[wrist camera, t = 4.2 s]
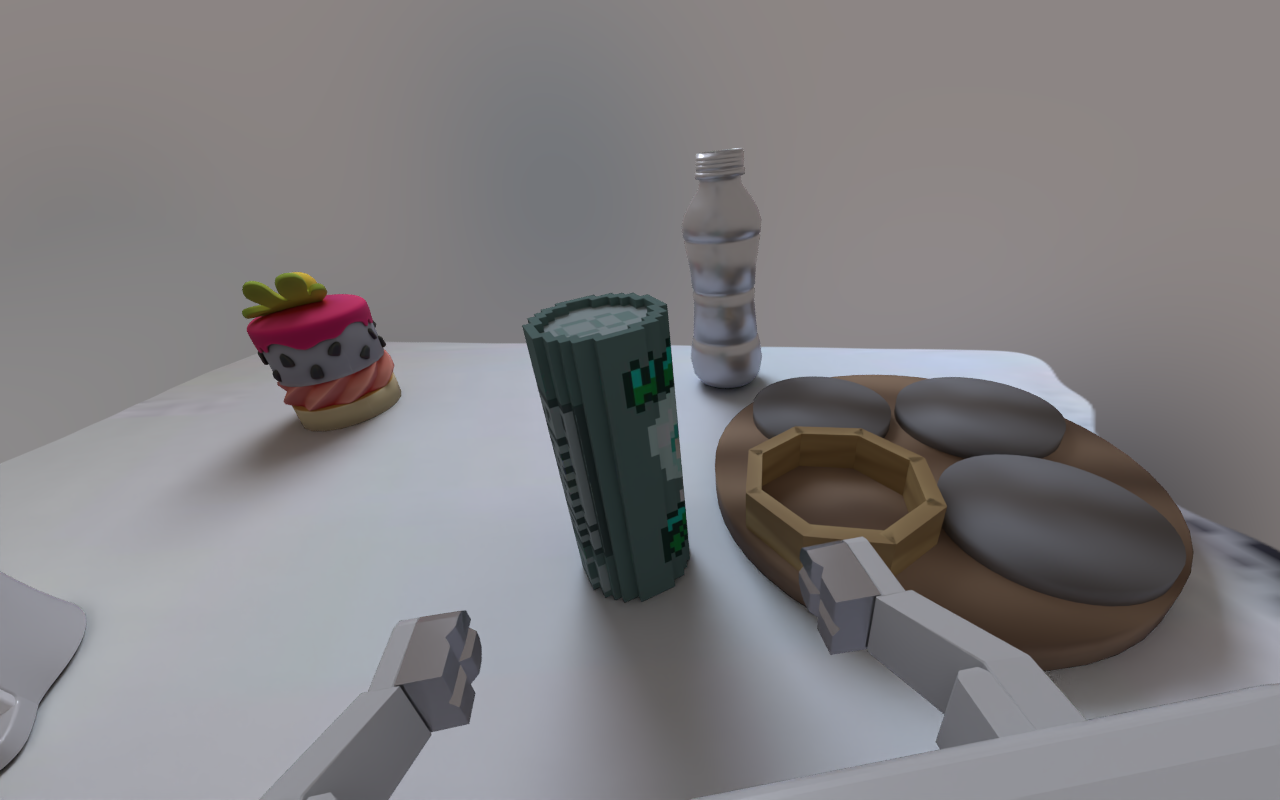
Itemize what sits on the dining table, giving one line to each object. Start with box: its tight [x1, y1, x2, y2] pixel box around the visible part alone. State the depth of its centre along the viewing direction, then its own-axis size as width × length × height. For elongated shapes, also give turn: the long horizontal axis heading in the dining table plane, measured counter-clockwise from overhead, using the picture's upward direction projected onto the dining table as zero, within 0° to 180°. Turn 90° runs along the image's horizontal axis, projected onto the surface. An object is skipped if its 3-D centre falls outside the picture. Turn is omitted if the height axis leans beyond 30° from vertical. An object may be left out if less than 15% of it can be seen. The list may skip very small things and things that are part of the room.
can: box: [522, 293, 690, 602], centre depth 24 cm, size 6×6×15 cm
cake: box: [242, 272, 401, 431], centre depth 47 cm, size 10×10×15 cm
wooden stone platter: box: [715, 375, 1193, 670], centre depth 29 cm, size 24×24×4 cm
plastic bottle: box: [682, 148, 762, 388], centre depth 41 cm, size 6×7×20 cm
